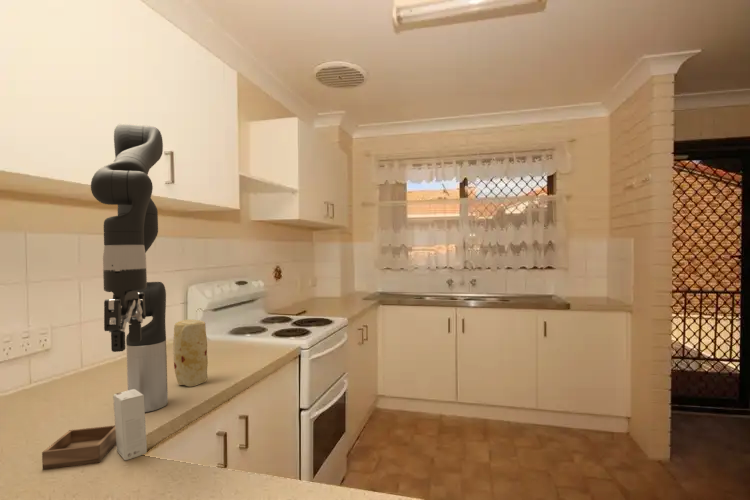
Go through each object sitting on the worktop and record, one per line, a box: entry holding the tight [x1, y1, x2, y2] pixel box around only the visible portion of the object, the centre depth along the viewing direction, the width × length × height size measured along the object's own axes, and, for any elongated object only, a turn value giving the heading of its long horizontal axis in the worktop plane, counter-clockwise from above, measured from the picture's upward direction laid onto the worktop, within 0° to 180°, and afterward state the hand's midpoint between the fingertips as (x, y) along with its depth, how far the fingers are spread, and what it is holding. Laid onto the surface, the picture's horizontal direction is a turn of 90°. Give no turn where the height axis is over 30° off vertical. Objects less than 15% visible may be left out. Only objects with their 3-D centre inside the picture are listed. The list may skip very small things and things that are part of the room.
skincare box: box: [112, 389, 148, 461], centre depth 82 cm, size 6×4×12 cm
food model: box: [172, 318, 209, 388], centre depth 123 cm, size 10×7×20 cm
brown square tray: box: [41, 424, 116, 470], centre depth 82 cm, size 10×10×3 cm
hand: (127, 346), depth 81 cm, fingers open, 8 cm apart
